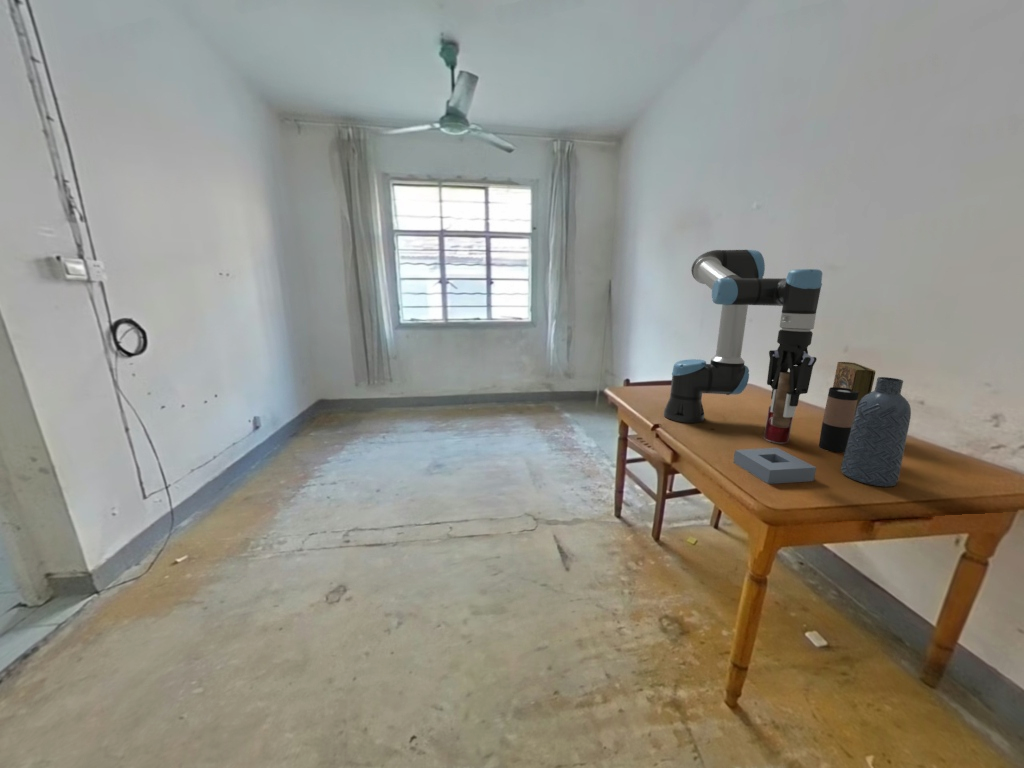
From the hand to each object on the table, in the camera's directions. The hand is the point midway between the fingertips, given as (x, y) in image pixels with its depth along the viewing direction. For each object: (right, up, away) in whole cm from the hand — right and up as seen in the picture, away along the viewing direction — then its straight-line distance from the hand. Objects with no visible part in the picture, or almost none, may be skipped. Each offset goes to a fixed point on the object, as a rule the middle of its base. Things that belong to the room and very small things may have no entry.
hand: (781, 414), depth 114 cm
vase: (+25, -18, +1) cm, 30 cm away
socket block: (0, -17, +4) cm, 17 cm away
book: (+46, -10, +36) cm, 59 cm away
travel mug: (+31, -13, +22) cm, 40 cm away
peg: (0, -3, +1) cm, 3 cm away
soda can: (+16, -11, +28) cm, 35 cm away
